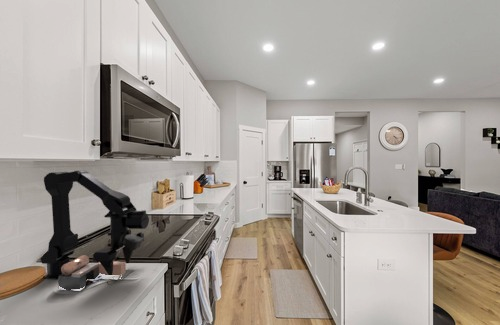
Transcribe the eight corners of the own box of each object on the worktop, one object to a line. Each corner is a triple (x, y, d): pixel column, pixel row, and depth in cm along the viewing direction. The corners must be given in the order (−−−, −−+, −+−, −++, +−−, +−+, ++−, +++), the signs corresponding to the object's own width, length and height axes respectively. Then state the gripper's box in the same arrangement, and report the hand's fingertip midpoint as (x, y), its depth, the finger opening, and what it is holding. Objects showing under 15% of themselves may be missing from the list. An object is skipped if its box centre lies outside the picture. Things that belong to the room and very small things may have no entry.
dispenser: (58, 290, 73) (58, 264, 73) (79, 277, 81) (79, 254, 81) (79, 291, 72) (79, 265, 72) (98, 278, 80) (98, 255, 80)
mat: (88, 278, 80) (88, 277, 80) (102, 269, 87) (102, 268, 87) (120, 280, 79) (120, 279, 79) (132, 271, 86) (132, 270, 86)
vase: (99, 262, 93) (99, 242, 93) (105, 256, 99) (105, 237, 99) (117, 260, 95) (117, 241, 95) (122, 254, 101) (122, 235, 101)
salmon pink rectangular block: (96, 274, 82) (96, 263, 82) (101, 271, 85) (101, 260, 85) (121, 276, 81) (121, 264, 81) (125, 272, 84) (125, 261, 84)
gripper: (121, 237, 72) (121, 284, 72) (152, 222, 91) (152, 258, 91) (91, 236, 74) (91, 282, 74) (128, 221, 92) (128, 257, 92)
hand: (119, 268), depth 83 cm, fingers open, 9 cm apart
